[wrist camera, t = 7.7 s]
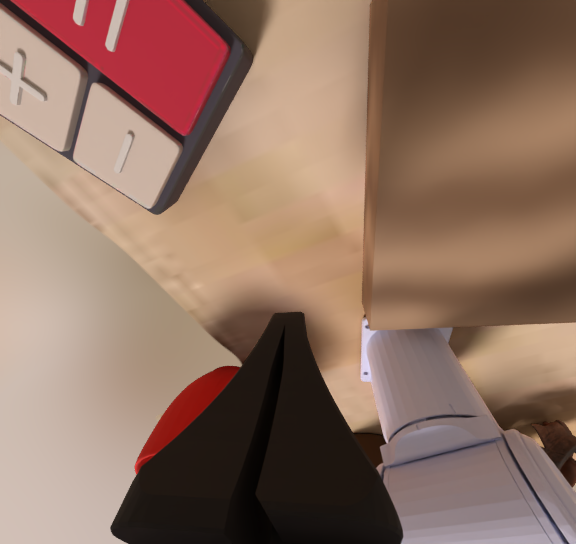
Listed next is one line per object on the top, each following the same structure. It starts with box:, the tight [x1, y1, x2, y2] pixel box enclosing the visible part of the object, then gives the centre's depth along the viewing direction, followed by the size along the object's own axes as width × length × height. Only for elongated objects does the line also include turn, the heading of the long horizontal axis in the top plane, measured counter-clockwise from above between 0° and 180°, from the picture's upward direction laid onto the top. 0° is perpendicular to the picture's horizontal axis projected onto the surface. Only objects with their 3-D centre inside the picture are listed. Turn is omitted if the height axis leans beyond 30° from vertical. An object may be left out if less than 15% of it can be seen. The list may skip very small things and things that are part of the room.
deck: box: [362, 0, 576, 331], centre depth 14 cm, size 19×14×4 cm
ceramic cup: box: [135, 366, 241, 474], centre depth 27 cm, size 13×17×10 cm
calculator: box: [0, 0, 253, 215], centre depth 12 cm, size 11×4×15 cm
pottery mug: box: [531, 420, 576, 487], centre depth 29 cm, size 12×10×8 cm
